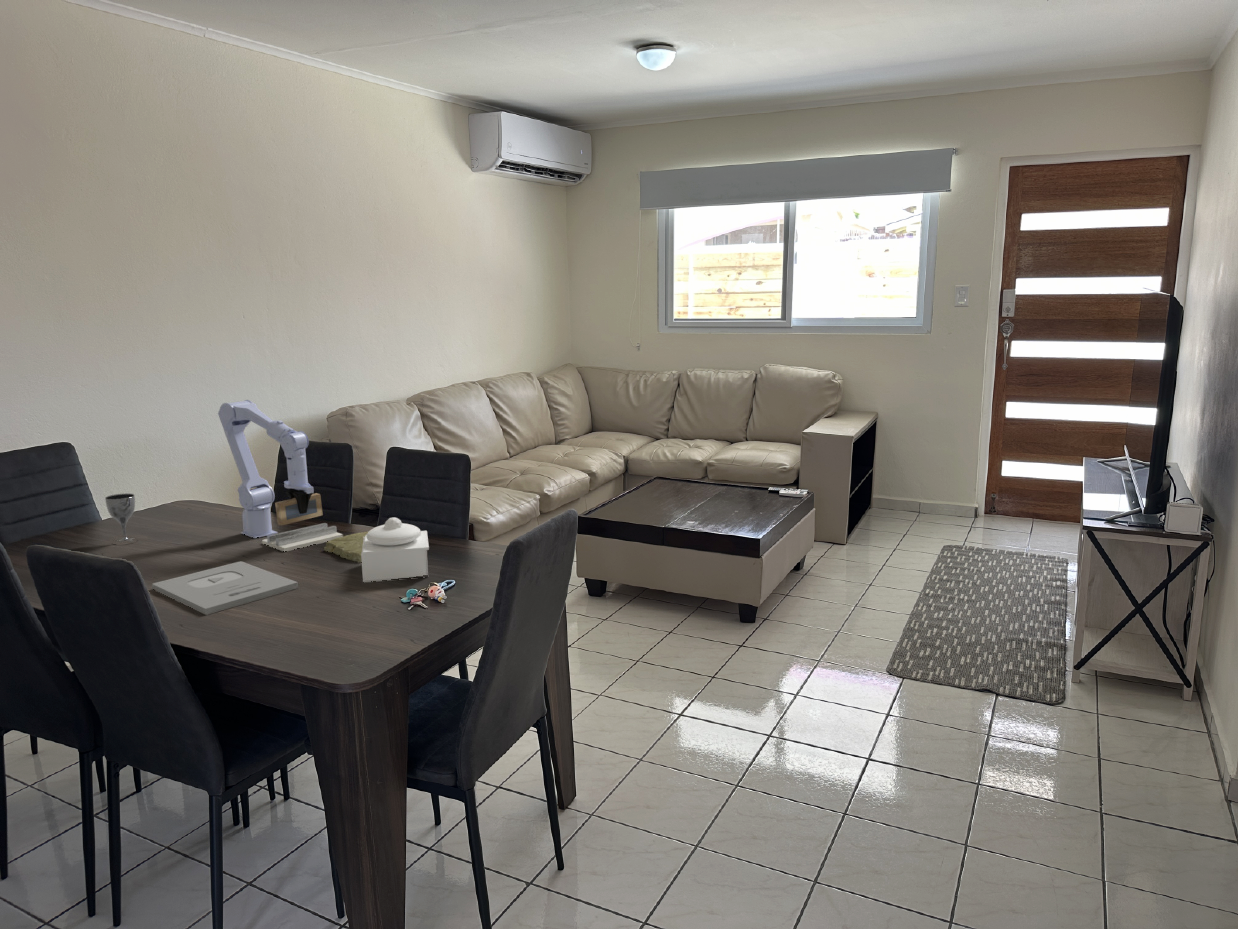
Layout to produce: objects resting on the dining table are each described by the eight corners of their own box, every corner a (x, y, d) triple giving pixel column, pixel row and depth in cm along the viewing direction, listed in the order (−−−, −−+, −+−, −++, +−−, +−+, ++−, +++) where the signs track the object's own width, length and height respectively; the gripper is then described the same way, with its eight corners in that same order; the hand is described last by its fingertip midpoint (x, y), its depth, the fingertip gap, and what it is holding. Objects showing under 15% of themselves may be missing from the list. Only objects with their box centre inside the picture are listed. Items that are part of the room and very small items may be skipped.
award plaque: (206, 617, 207) (205, 608, 206) (152, 591, 225) (151, 583, 225) (298, 589, 226) (297, 582, 225) (241, 568, 244) (241, 561, 244)
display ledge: (262, 543, 267) (261, 534, 266) (319, 530, 281) (319, 521, 281) (284, 552, 258) (283, 542, 257) (343, 537, 273) (342, 528, 272)
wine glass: (141, 542, 268) (135, 497, 265) (112, 547, 264) (106, 500, 261) (138, 537, 275) (133, 492, 272) (110, 541, 270) (104, 495, 267)
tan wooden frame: (277, 524, 264) (275, 502, 262) (318, 513, 274) (316, 493, 272) (281, 525, 262) (279, 503, 260) (322, 515, 272) (320, 494, 271)
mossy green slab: (370, 539, 273) (369, 528, 272) (410, 550, 261) (409, 539, 260) (319, 553, 258) (318, 541, 258) (358, 565, 246) (358, 553, 246)
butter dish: (365, 564, 246) (361, 511, 243) (428, 559, 251) (425, 507, 248) (362, 583, 230) (358, 527, 227) (430, 577, 234) (427, 522, 231)
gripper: (273, 469, 267) (277, 511, 269) (297, 475, 257) (300, 518, 260) (294, 466, 272) (297, 506, 275) (318, 471, 263) (321, 514, 265)
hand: (300, 512), depth 268 cm, fingers closed on tan wooden frame, 3 cm apart
